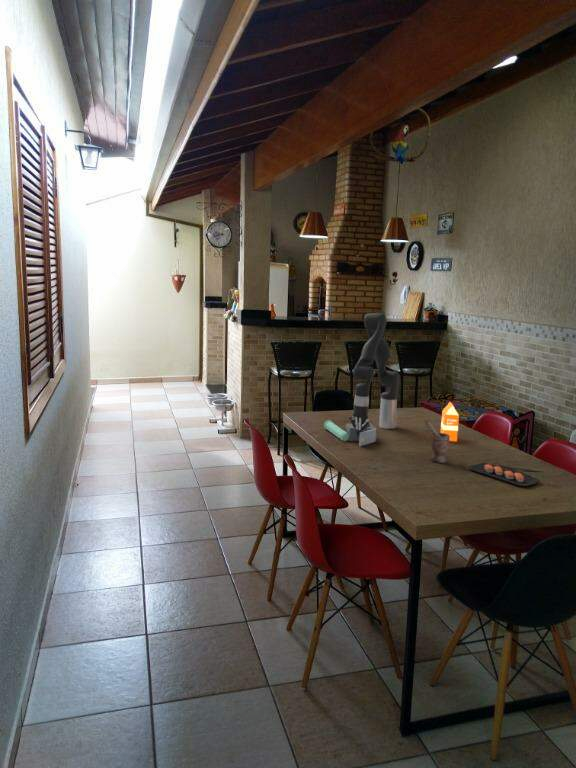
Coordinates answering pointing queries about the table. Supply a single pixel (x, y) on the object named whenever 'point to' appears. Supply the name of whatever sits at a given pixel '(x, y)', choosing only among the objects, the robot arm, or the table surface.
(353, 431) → the camera case
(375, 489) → the table surface
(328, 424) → the mint green bar
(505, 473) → the sushi plate
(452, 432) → the orange juice
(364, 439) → the side door
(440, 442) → the mortar and pestle
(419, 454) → the table surface
